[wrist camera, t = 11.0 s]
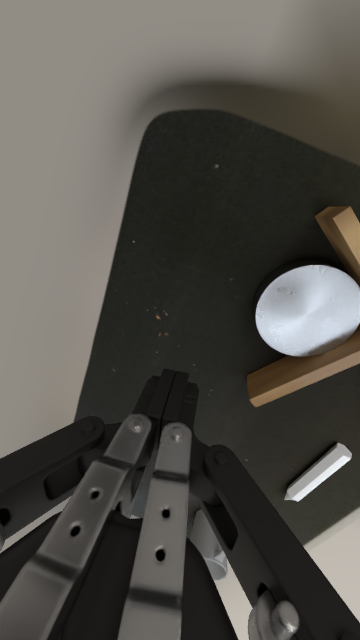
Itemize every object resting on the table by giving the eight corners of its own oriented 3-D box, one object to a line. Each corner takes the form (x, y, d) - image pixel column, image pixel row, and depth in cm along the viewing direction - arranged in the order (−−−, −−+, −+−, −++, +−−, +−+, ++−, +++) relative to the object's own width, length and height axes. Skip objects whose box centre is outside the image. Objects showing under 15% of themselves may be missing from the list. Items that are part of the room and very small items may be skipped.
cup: (184, 513, 52) (177, 565, 45) (212, 495, 48) (209, 549, 40) (213, 530, 53) (210, 584, 45) (242, 513, 49) (245, 570, 41)
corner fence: (188, 304, 32) (182, 320, 28) (328, 206, 25) (350, 206, 20) (252, 382, 35) (255, 407, 31) (391, 316, 28) (422, 336, 24)
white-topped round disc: (235, 294, 30) (236, 303, 28) (323, 238, 26) (333, 242, 23) (281, 357, 33) (286, 371, 30) (367, 315, 29) (382, 327, 26)
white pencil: (281, 490, 45) (338, 440, 37) (291, 500, 44) (352, 451, 37) (276, 500, 43) (336, 450, 35) (287, 511, 42) (350, 461, 35)
